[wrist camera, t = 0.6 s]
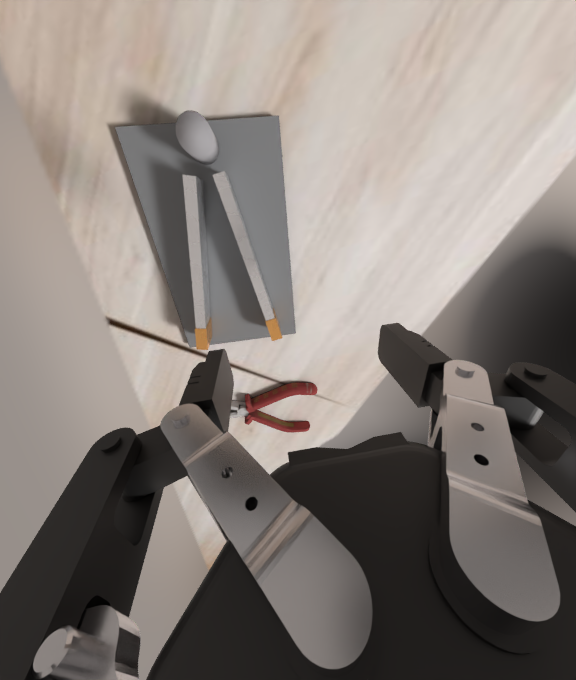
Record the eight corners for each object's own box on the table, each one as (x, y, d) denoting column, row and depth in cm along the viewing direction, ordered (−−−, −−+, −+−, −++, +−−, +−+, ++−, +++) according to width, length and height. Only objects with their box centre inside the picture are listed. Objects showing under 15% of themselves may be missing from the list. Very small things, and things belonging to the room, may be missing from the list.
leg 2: (216, 180, 25) (211, 175, 22) (229, 175, 25) (225, 170, 22) (270, 328, 35) (272, 340, 31) (279, 325, 35) (282, 337, 31)
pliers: (201, 379, 39) (198, 389, 37) (316, 379, 43) (320, 389, 40) (205, 426, 45) (203, 438, 43) (307, 423, 48) (310, 434, 46)
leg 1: (190, 179, 25) (181, 174, 22) (204, 181, 25) (196, 176, 22) (202, 336, 34) (196, 349, 31) (212, 336, 34) (207, 349, 31)
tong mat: (120, 130, 23) (85, 108, 19) (278, 118, 24) (283, 96, 20) (191, 344, 36) (181, 364, 31) (294, 330, 37) (300, 348, 32)
